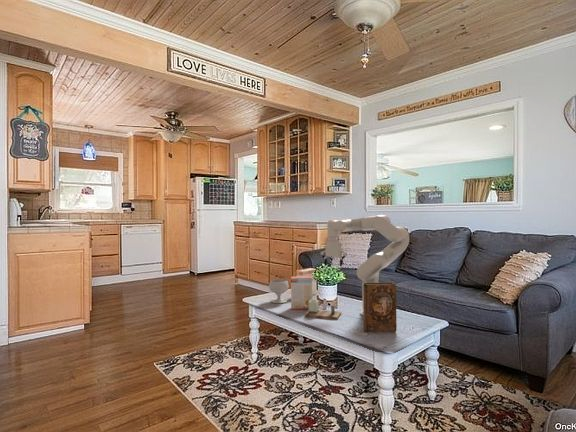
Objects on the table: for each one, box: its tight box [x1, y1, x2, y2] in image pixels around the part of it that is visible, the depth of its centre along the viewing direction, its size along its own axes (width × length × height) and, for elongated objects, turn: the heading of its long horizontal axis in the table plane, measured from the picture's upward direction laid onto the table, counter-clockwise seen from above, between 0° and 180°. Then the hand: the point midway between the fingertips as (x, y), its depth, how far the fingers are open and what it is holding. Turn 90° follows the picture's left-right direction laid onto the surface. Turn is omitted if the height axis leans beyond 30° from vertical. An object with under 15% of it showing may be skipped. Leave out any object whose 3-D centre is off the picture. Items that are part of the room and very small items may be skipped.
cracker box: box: [290, 275, 314, 311], centre depth 230 cm, size 14×6×21 cm, turn 84°
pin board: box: [304, 305, 342, 321], centre depth 214 cm, size 20×12×6 cm, turn 70°
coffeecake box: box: [295, 267, 318, 296], centre depth 268 cm, size 15×7×20 cm, turn 130°
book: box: [362, 282, 398, 334], centre depth 185 cm, size 16×6×25 cm, turn 92°
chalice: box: [268, 278, 290, 304], centre depth 249 cm, size 14×14×15 cm
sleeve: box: [308, 299, 320, 314], centre depth 216 cm, size 5×5×7 cm
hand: (333, 265), depth 229 cm, fingers open, 9 cm apart
